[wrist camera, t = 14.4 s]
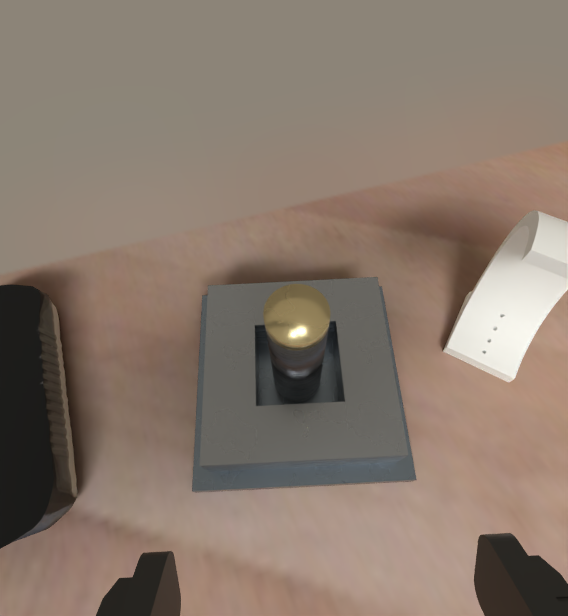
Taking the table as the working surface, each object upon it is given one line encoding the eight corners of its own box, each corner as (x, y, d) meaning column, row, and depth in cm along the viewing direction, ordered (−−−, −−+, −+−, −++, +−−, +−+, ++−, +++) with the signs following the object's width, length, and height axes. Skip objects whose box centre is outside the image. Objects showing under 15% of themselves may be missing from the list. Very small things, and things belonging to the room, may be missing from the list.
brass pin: (275, 402, 26) (264, 345, 18) (273, 358, 28) (262, 285, 19) (322, 400, 26) (333, 341, 18) (318, 355, 28) (327, 282, 19)
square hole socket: (195, 492, 25) (179, 487, 21) (205, 301, 31) (193, 273, 27) (411, 481, 25) (431, 474, 21) (379, 293, 31) (390, 263, 27)
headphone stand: (442, 351, 29) (530, 249, 18) (470, 285, 31) (562, 161, 20) (509, 383, 27) (645, 294, 17) (532, 312, 30) (665, 195, 19)
